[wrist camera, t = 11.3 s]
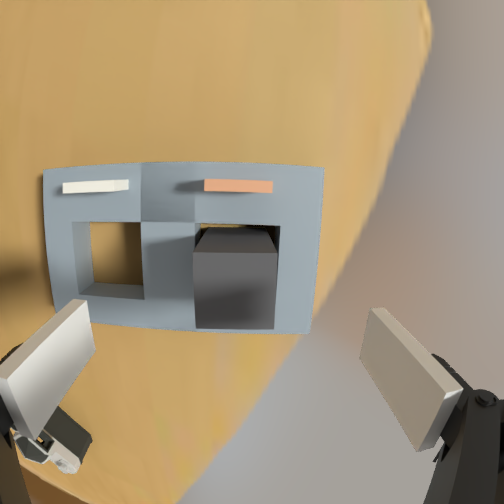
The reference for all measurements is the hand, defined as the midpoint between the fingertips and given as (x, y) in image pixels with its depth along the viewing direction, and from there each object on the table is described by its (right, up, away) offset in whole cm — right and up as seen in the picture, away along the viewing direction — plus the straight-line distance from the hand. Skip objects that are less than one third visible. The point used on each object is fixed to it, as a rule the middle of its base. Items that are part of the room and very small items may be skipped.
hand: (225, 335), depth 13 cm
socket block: (-6, +5, +15) cm, 16 cm away
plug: (0, +4, +15) cm, 16 cm away
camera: (-29, -19, +20) cm, 40 cm away
